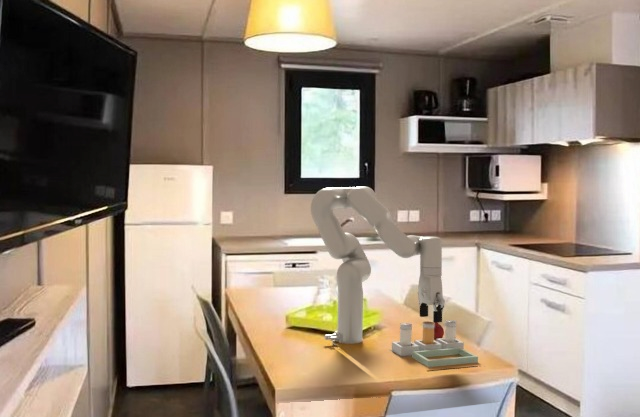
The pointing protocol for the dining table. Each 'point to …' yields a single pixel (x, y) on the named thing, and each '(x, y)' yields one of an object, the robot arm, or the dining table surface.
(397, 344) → the fuse holder
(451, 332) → the cylinder
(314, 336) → the dining table surface
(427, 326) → the marked fuse
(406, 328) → the cylinder
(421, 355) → the tray
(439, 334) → the onion
